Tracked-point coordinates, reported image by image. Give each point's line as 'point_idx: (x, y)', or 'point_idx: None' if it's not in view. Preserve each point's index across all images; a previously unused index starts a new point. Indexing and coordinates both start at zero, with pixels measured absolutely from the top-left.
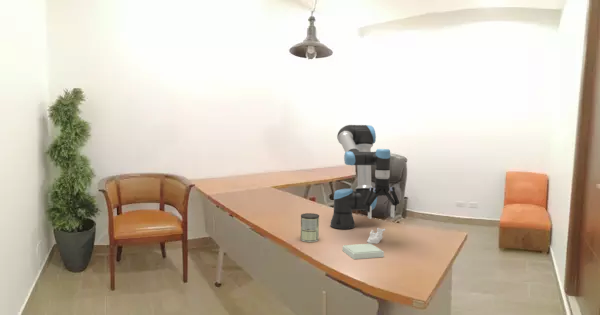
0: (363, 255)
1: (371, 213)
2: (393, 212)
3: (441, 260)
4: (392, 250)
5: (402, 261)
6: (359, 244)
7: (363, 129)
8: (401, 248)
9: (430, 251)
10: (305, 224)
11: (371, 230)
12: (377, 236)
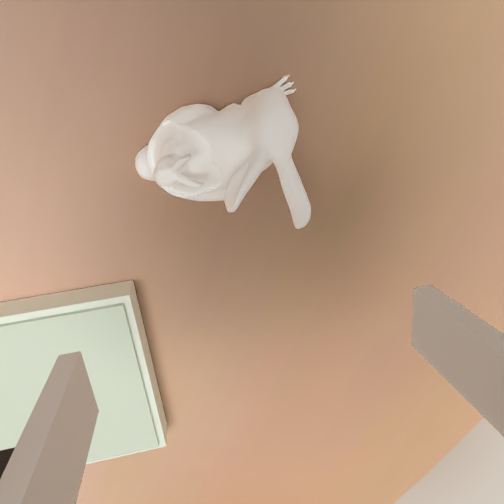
0: None
1: (83, 471)
2: (457, 386)
3: (421, 453)
4: (266, 314)
5: (238, 475)
6: (25, 327)
7: None
8: (340, 277)
9: None
10: None
11: (174, 164)
12: (223, 188)
